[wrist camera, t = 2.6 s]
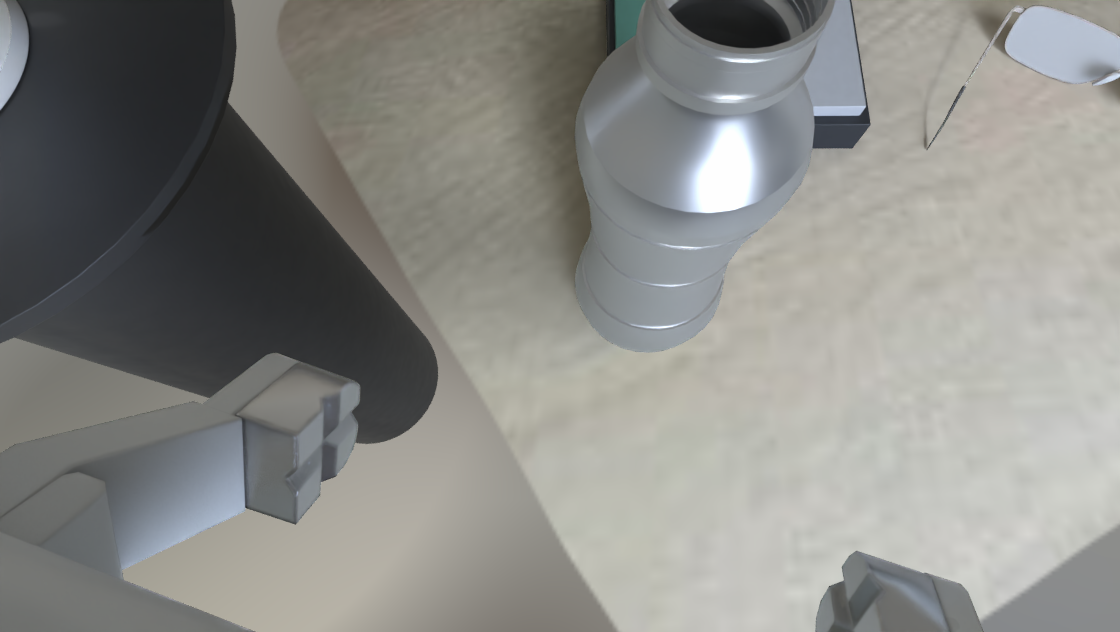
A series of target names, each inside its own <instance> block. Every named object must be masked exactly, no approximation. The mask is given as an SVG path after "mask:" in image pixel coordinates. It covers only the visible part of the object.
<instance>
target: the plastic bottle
mask: <svg viewBox="0 0 1120 632" xmlns="http://www.w3.org/2000/svg"><path fill="white" fill-rule="evenodd" d="M834 4H835V0H646V1H645V2H644V4H643V6H642V8H641V12H640V15H639V19H638V24H637V30H636V35H635V36H634V37H632V38H631V39H629V40H628V41H627V42H625V43H624V44H623V45H621V46H620V47H619V48H617V49H616V50H614V51H613V52H612V53H611V54H610V55H609V56H608V58H607V59H606V60H605V61H604V62H603V63H602V64H601V65H600V67H599V68H598V70H597V72H596V73H595V75H594V77H593V79H592V80H591V82H590V84H589V86H588V88H587V90H586V92H585V94H584V96H583V98H582V100H581V103H580V106H579V109H578V113H577V116H576V123H575V143H576V151H577V158H578V164H579V170H580V173H581V176H582V180H583V184H584V187H585V191H586V194H587V198H588V202H589V205H590V216H591V231H590V236H589V239H588V241H587V243H586V245H585V246H584V248H583V250H582V253H581V256H580V259H579V262H578V266H577V269H576V276H575V288H576V295H577V299H578V302H579V304H580V307H581V310H582V311H583V313H584V315H585V316H586V318H587V319H588V321H589V322H590V324H591V326H592V327H593V328H594V329H595V330H596V331H597V332H598V333H599V334H600V335H601V336H602V337H603V338H605V339H606V340H608V341H609V342H611V343H612V344H614V345H617V346H619V347H621V348H623V349H627V350H631V351H636V352H657V351H664V350H667V349H670V348H673V347H676V346H678V345H680V344H682V343H684V342H686V341H687V340H689V339H691V338H693V337H695V336H696V335H697V334H698V333H699V332H700V331H701V330H703V329H704V328H705V327H706V325H707V324H708V323H709V321H710V320H711V319H712V318H713V316H714V314H715V312H716V309H717V307H718V305H719V302H720V297H721V293H722V289H723V284H724V274H725V271H726V268H727V265H728V263H729V261H730V260H731V258H732V257H733V256H734V254H735V253H736V252H737V250H738V249H739V248H740V246H741V245H742V244H743V243H744V242H746V241H747V240H748V239H749V238H750V237H751V236H752V235H753V234H755V233H756V232H757V231H758V230H759V229H760V228H761V227H762V226H764V225H765V224H766V223H767V222H768V221H769V220H770V219H772V218H773V217H774V216H775V215H776V214H777V213H778V212H779V211H780V210H781V208H782V207H783V206H784V205H785V204H786V203H787V202H788V200H789V199H790V198H791V196H792V195H793V194H794V192H795V191H796V190H797V189H798V187H799V186H800V185H801V183H802V180H803V178H804V176H805V174H806V171H807V169H808V167H809V163H810V158H811V152H812V147H813V137H814V127H815V126H814V109H813V105H812V102H811V98H810V95H809V92H808V89H807V86H806V84H805V81H804V79H803V77H804V75H805V73H806V71H807V69H808V68H809V66H810V63H811V61H812V59H813V57H814V55H815V52H816V46H817V41H818V39H819V38H820V36H821V34H822V32H823V30H824V28H825V27H826V25H827V23H828V20H829V18H830V16H831V14H832V11H833V6H834Z"/></svg>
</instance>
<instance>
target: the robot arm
mask: <svg viewBox="0 0 1120 632" xmlns="http://www.w3.org/2000/svg"><path fill="white" fill-rule="evenodd" d="M28 50H29V30H28V25H27V21H26V18H25V15H24V13H23V10H22V9H21V7H20V5H19V3H18V2H17V1H16V0H0V110H1V109H2V108H3V106H4V105H5V104H6V102H7V101H8V99H9V98H10V96H11V95H12V93H13V92H14V90H15V88H16V86H17V84H18V82H19V80H20V78H21V76H22V73H23V71H24V68H25V65H26V61H27V56H28ZM359 403H360V386H359V384H358V383H357V382H356V381H353V380H351V379H348V378H345V377H342V376H340V375H337V374H334V373H331V372H329V371H326V370H323V369H320V368H318V367H315V366H312V365H310V364H307V363H304V362H299V361H297V360H294V359H291V358H289V357H286V356H283V355H280V354H278V353H273V354H268V355H266V356H265V357H263V358H262V359H261V360H259V361H258V362H257V363H255V364H254V365H253V366H251V367H250V368H249V369H247V370H246V371H245V372H244V373H242V374H241V375H240V376H238V377H237V378H236V379H234V380H233V381H232V382H230V383H229V384H228V385H226V386H225V387H224V388H223V389H221V390H220V391H219V392H217V393H216V394H215V395H213V396H212V397H211V398H209V399H208V400H207V401H206V402H204V403H203V404H200V403H197V402H189V403H184V404H180V405H176V406H172V407H168V408H163V409H160V410H155V411H151V412H147V413H143V414H139V415H135V416H130V417H126V418H122V419H118V420H114V421H110V422H105V423H101V424H97V425H94V426H89V427H85V428H81V429H76V430H72V431H68V432H64V433H60V434H56V435H52V436H48V437H43V438H39V439H35V440H31V441H27V442H23V443H19V444H15V445H13V446H11V447H9V448H8V449H6V450H5V451H3V452H2V453H0V632H255V631H252V630H250V629H247V628H245V627H242V626H239V625H237V624H235V623H232V622H230V621H227V620H224V619H222V618H219V617H217V616H214V615H212V614H209V613H207V612H204V611H201V610H199V609H196V608H194V607H191V606H189V605H186V604H184V603H181V602H178V601H176V600H173V599H171V598H168V597H166V596H163V595H160V594H158V593H155V592H153V591H150V590H148V589H145V588H143V587H140V586H138V585H135V584H133V583H130V582H127V581H125V580H124V579H123V573H122V570H123V569H125V568H127V567H129V566H131V565H134V564H136V563H138V562H140V561H142V560H144V559H146V558H148V557H150V556H152V555H154V554H157V553H159V552H161V551H163V550H165V549H167V548H169V547H171V546H173V545H175V544H177V543H179V542H181V541H183V540H186V539H188V538H190V537H192V536H194V535H196V534H198V533H200V532H202V531H204V530H206V529H209V528H211V527H213V526H215V525H217V524H219V523H221V522H223V521H225V520H227V519H229V518H232V517H234V516H236V515H238V514H240V513H242V512H244V511H245V508H247V509H250V510H253V511H256V512H260V513H262V514H266V515H269V516H271V517H275V518H277V519H281V520H283V521H286V522H290V523H292V524H297V522H298V521H299V520H300V519H301V518H302V516H303V515H304V514H305V513H306V512H307V510H308V509H309V508H310V507H311V506H312V504H313V503H314V502H315V501H316V500H317V498H318V497H319V496H320V489H321V482H323V481H325V480H328V479H331V478H333V477H336V476H337V474H338V473H339V472H340V470H341V469H342V468H343V467H344V465H345V464H346V462H347V460H348V458H349V456H350V454H351V452H352V450H353V447H354V444H355V441H356V437H357V429H358V423H357V421H356V419H355V417H354V416H353V414H352V412H351V411H352V410H353V409H354V408H355V407H356V406H357V405H358V404H359ZM842 572H843V577H844V581H842V582H839V583H837V584H834V585H831V586H829V588H828V589H827V591H826V593H825V595H824V596H823V598H822V600H821V602H820V605H819V609H818V613H817V617H816V629H815V632H984V631H983V629H982V626H981V624H980V621H979V619H978V616H977V614H976V611H975V609H974V606H973V604H972V601H971V599H970V596H969V594H968V592H967V590H966V589H965V588H964V587H963V586H962V585H961V584H959V583H956V582H953V581H950V580H947V579H944V578H940V577H937V576H934V575H931V574H928V573H922V572H919V571H916V570H913V569H910V568H907V567H904V566H901V565H898V564H895V563H892V562H889V561H886V560H883V559H880V558H877V557H874V556H871V555H868V554H865V553H862V552H859V551H856V552H854V553H853V554H851V555H850V556H849V557H848V558H847V560H846V561H845V563H844V564H843V566H842Z"/></svg>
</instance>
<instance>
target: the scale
mask: <svg viewBox="0 0 1120 632" xmlns="http://www.w3.org/2000/svg"><path fill="white" fill-rule="evenodd" d="M645 1H646V0H606V29H607V58H608V56H609V55H610V54H611V53H612V52H613V51H614V50H616V49H617V48H619V47H620V46H621V45H623V44H624V43H625V42H627V41H628V40H629V39H631V38H632V37H634V36H635V35H636V30H637V24H638V19H639V15H640V12H641V8H642V6H643V4H644V2H645ZM803 79H804V81H805V84H806V86H807V89H808V92H809V95H810V98H811V102H812V105H813V109H814V126H815V127H814V137H813V147H812V148H853V147H854V146H855V144H856V143H857V142H858V140H859V139H860V138H861V136H862V135H863V134H864V133H865V131H866V130H867V129H868V127H869V126H870V117H869V111H868V105H867V98H866V92H865V85H864V79H863V73H862V66H861V60H860V54H859V47H858V41H857V34H856V28H855V22H854V15H853V9H852V3H851V0H835V4H834V6H833V11H832V14H831V16H830V18H829V20H828V23H827V25H826V27H825V28H824V30H823V32H822V34H821V36H820V38H819V39H818V41H817V46H816V52H815V55H814V57H813V59H812V61H811V63H810V66H809V68H808V69H807V71H806V73H805V75H804V77H803Z"/></svg>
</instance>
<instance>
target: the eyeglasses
mask: <svg viewBox="0 0 1120 632" xmlns="http://www.w3.org/2000/svg"><path fill="white" fill-rule="evenodd" d="M1013 11H1016V12H1019V13H1021V15H1020V16H1019V17H1018V19H1017V20H1016V22H1015V23H1014V25H1013V26H1012V28H1011V30H1010V32H1009V34H1008V36H1007V38H1006V41H1005V50H1006V52H1007V53H1008V54H1009V56H1011V57H1012V58H1013V59H1015V60H1016V61H1018V62H1019V63H1021V64H1023V65H1025V66H1027V67H1029V68H1031V69H1033V70H1035V71H1037V72H1039V73H1042V74H1044V75H1047V76H1049V77H1052V78H1054V79H1057V80H1060V81H1063V82H1066V83H1070V84H1083V83H1088V82H1092V81H1094V82H1093V83H1092V85H1093V86H1095V85H1101V84H1104V83H1107V82H1110V81H1113V80H1115V79H1117V78H1119V77H1120V73H1117V72H1118V71H1119V70H1120V36H1118V35H1117V34H1115V33H1113V32H1111V31H1109V30H1107V29H1105V28H1103V27H1101V26H1099V25H1097V24H1095V23H1093V22H1090V21H1088V20H1086V19H1083V18H1081V17H1078V16H1076V15H1073V14H1071V13H1068V12H1065V11H1062V10H1059V9H1055V8H1052V7H1048V6H1042V5H1033V6H1030V7H1028V8H1027V9H1026V8H1024V7H1021V6H1015V7H1013V8H1012V9H1011V10H1010V12H1009V13H1008V14H1007V15H1006V17H1005V19H1004V20H1003V22H1002V24H1001V25H1000V27H999V29H998V30H997V32H996V34H995V35H994V37H993V38H992V40H991V42H990V43H989V45H988V47H987V48H986V50H985V52H984V53H983V55H982V57H981V58H980V60H979V62H978V63H977V65H976V67H975V68H974V70H973V71H972V73H971V75H970V76H969V78H968V80H967V81H966V83H965V85H964V86H963V87H962V88H961V90H960V92H959V94H958V95H957V97H956V99H955V101H954V103H953V105H952V106H951V108H950V110H949V112H948V114H947V116H946V118H945V120H944V122H943V124H942V125H941V127H940V129H939V130H938V132H937V134H936V135H935V137H934V138H933V140H932V142H933V141H934V139H935V138H936V136H937V135H938V133H939V132H940V130H941V129H942V127H943V126H944V124H945V122H946V121H947V119H948V117H949V116H950V114H951V112H952V110H953V109H954V107H955V105H956V103H957V101H958V99H959V98H960V96H961V94H962V93H963V91H964V89H965V88H966V87H965V86H966V85H967V83H968V82H969V80H970V79H971V77H972V75H973V74H974V72H975V71H976V69H977V68H978V66H979V65H980V63H981V61H982V60H983V58H984V57H985V55H986V54H987V52H988V51H989V49H990V47H991V46H992V44H993V43H994V41H995V40H996V38H997V36H998V35H999V33H1000V32H1001V30H1002V29H1003V27H1004V26H1005V24H1006V22H1007V21H1008V19H1009V18H1010V16H1011V15H1012V13H1013ZM1095 80H1097V81H1095ZM932 142H931V143H930V145H931V144H932ZM930 145H929V147H930ZM929 147H928V148H929ZM928 148H927V150H928Z"/></svg>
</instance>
